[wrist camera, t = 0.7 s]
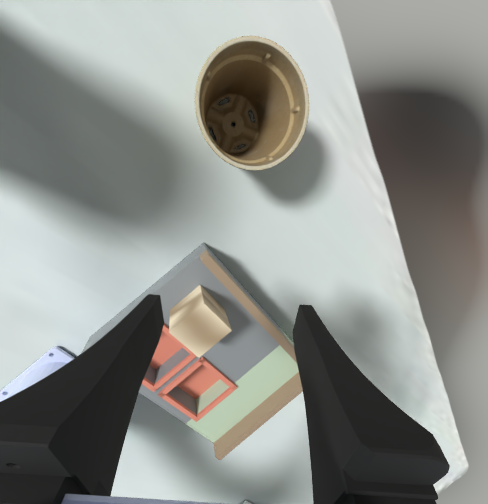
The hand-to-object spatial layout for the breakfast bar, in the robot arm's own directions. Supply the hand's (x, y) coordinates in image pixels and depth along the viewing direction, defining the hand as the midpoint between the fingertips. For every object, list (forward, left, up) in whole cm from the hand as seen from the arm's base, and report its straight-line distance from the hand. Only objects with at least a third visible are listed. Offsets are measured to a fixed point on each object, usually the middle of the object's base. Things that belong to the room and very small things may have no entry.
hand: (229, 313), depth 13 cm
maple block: (-6, -6, -16) cm, 18 cm away
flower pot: (+11, +7, -19) cm, 23 cm away
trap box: (-9, -13, -19) cm, 25 cm away
